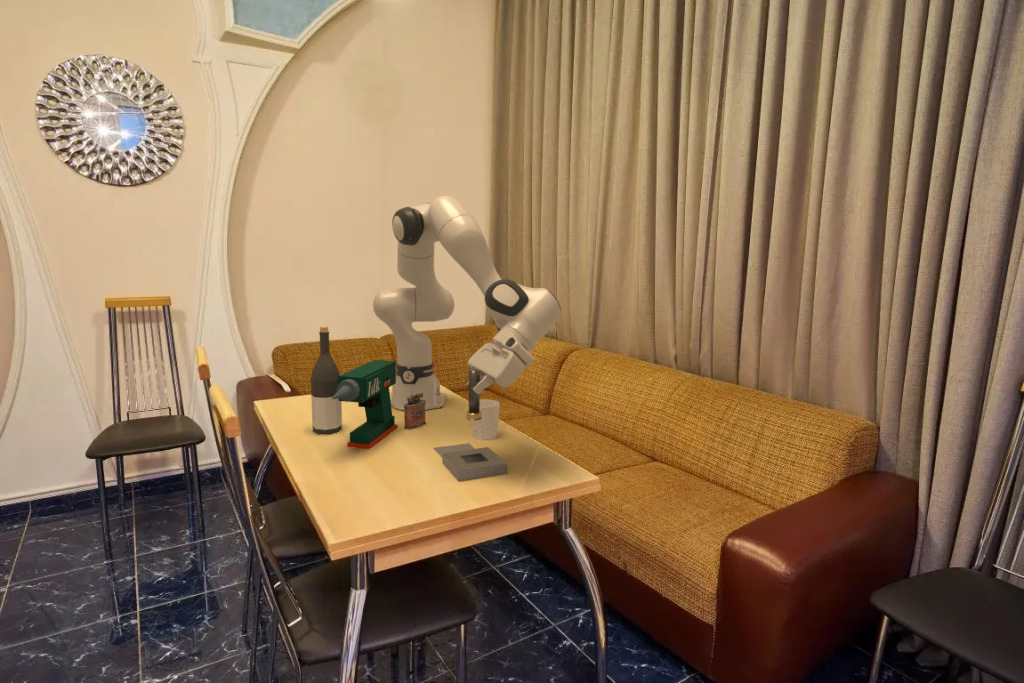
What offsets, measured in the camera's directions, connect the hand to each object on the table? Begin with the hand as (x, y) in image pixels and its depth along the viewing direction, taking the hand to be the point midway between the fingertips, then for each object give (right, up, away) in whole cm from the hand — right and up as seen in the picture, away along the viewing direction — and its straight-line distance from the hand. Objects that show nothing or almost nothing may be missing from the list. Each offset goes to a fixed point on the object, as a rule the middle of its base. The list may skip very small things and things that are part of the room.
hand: (471, 389), depth 138 cm
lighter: (-19, -14, +35) cm, 43 cm away
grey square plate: (-5, -18, +15) cm, 23 cm away
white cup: (+2, -16, +27) cm, 32 cm away
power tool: (-30, -17, +20) cm, 40 cm away
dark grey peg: (0, -7, +1) cm, 7 cm away
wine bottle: (-43, -14, +31) cm, 55 cm away
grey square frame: (0, -20, +4) cm, 20 cm away
